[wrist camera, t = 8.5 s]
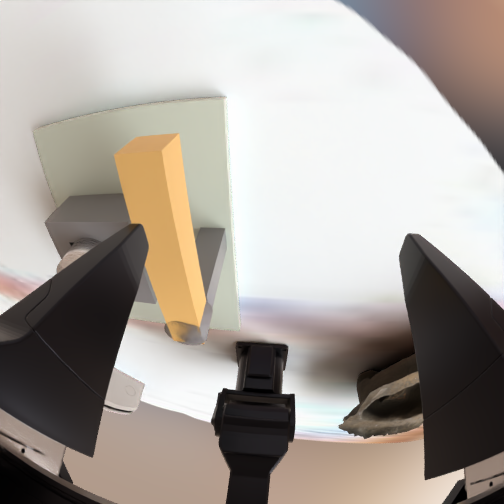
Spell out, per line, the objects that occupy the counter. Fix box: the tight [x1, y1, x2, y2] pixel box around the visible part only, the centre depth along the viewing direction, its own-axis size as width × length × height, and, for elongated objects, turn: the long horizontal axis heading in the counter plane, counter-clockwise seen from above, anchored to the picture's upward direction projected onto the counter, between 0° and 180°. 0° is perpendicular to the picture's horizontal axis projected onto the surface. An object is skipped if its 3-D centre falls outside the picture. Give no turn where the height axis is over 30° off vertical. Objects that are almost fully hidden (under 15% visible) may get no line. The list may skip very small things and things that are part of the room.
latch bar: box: [114, 133, 213, 345], centre depth 14 cm, size 12×3×2 cm, turn 1°
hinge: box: [103, 368, 145, 415], centre depth 45 cm, size 17×5×10 cm, turn 45°
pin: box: [57, 238, 101, 273], centre depth 22 cm, size 6×6×6 cm
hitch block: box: [33, 97, 241, 331], centre depth 22 cm, size 24×17×8 cm
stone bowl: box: [339, 354, 423, 439], centre depth 34 cm, size 25×25×9 cm
